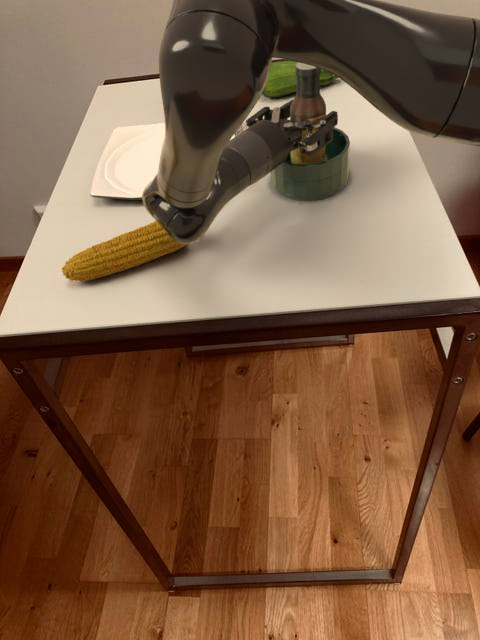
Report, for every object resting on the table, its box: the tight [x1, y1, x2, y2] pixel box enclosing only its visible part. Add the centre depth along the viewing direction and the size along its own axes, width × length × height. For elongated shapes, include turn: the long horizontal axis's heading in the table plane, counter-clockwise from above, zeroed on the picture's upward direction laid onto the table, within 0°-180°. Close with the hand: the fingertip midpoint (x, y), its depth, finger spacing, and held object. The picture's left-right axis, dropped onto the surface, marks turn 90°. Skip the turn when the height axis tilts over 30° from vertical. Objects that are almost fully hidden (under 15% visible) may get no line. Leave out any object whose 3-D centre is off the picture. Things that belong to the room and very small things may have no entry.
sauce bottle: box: [289, 62, 328, 164], centre depth 87 cm, size 6×6×20 cm
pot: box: [270, 126, 351, 202], centre depth 92 cm, size 14×14×7 cm
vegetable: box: [262, 60, 339, 99], centre depth 117 cm, size 7×7×20 cm
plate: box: [89, 122, 236, 201], centre depth 104 cm, size 29×29×3 cm
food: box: [61, 220, 187, 282], centre depth 83 cm, size 21×6×6 cm, turn 113°
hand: (314, 110), depth 87 cm, fingers open, 8 cm apart
